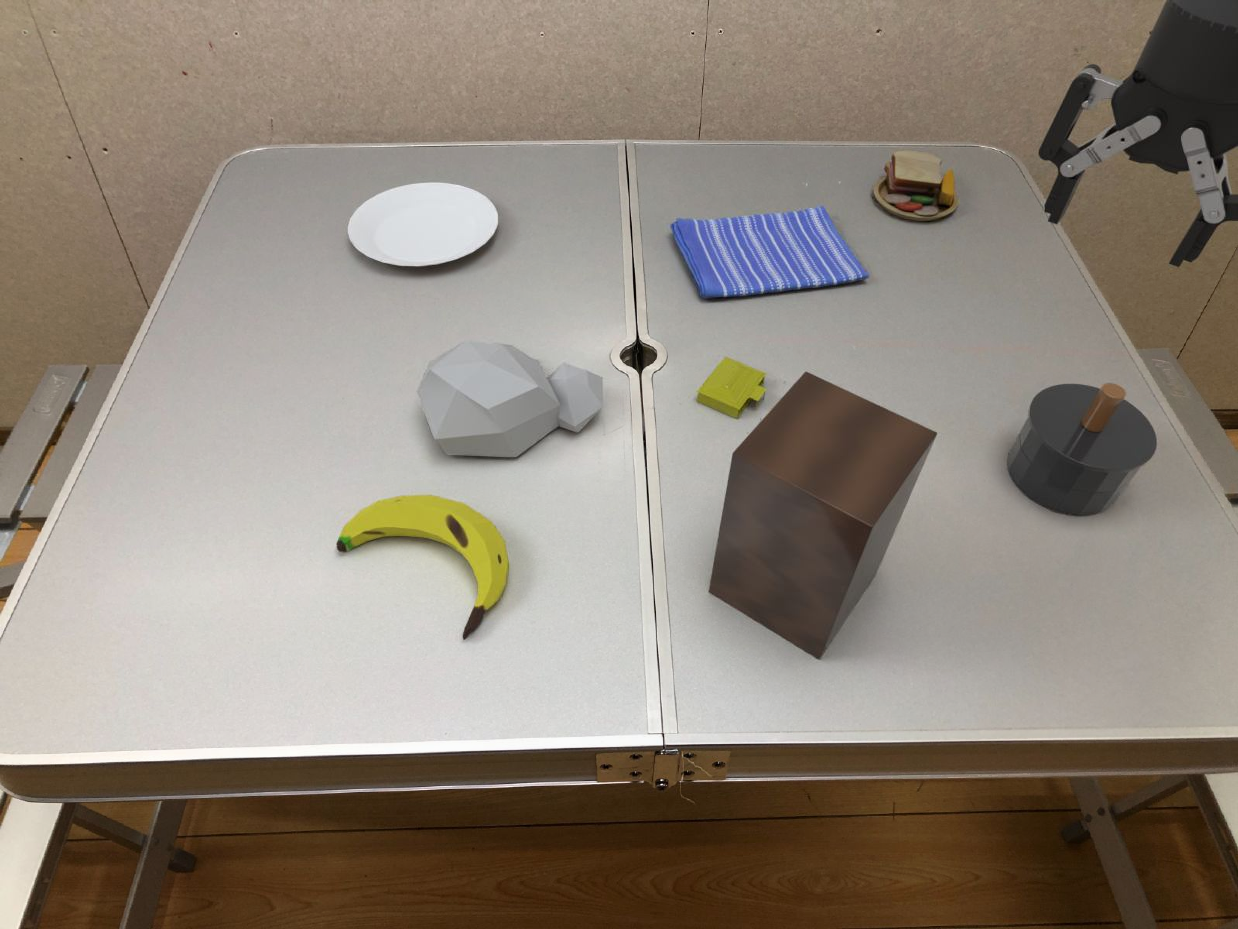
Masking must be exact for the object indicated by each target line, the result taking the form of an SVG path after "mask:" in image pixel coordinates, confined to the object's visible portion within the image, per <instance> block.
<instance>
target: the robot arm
mask: <svg viewBox="0 0 1238 929" xmlns="http://www.w3.org/2000/svg"><path fill="white" fill-rule="evenodd" d="M1103 100H1110V106H1111V110H1112V114H1113V119H1114V122H1115V123H1112V124H1111V125H1109V126H1108V127H1106V128H1104V129H1103V130H1102V131H1101V132H1099V133H1098V134H1097V135H1095V136H1094V137H1091V138H1090V139H1089V140H1087V141H1085V142H1083V143H1082V144H1080V145H1076V144H1075V143H1073V142H1072V141H1071V140H1069V138H1070V136H1071V135H1072V132H1073V130H1074V128H1075V126H1076V125H1077V122H1078V121H1079V119H1080V117H1081V115H1082V113H1083V111H1084V110H1085V111H1088V110H1089V111H1090V110H1093V109H1094V108H1096V107H1097V106H1098V104H1099V103H1100V102H1102V101H1103ZM1236 148H1238V0H1165V3H1164V4H1163V7H1162V9H1161V11H1160V13H1159V15H1158V17H1157V19H1156V21H1155V24H1154V25H1153V27H1152V30H1151V32H1150V34H1149V36H1148V39H1147V40H1146V43H1145V45H1144V47H1143V49H1142V51H1141V54H1140V56H1139V58H1138V59H1137V62H1136V64H1135V66H1134V68H1133V70H1132V72H1131V74H1130V75H1128V76H1127V77H1126V78H1125V79H1123V80H1120V79H1118V78H1115V77H1112V76H1109V75H1105V74H1103V73H1102V68H1101V67H1100V66H1099V65H1098V64H1094V63H1090V64H1088V65H1086V66H1084V67H1083V69H1082V70H1081V71H1080V72H1079V73H1078V75H1077V76H1075V78H1073V80H1072V82H1071V83H1070V85H1069V87H1068V90H1067V91H1066V93H1065V96H1064V98H1063V99H1062V102H1061V104H1060V105H1059V108H1058V110H1057V112H1056V114H1055V116H1054V118H1053V120H1052V122H1051V124H1050V126H1049V128H1048V130H1047V132H1046V134H1045V137H1044V138H1043V141H1042V143H1041V144H1040V147H1039V149H1038V152H1037V154H1038V157H1039V158H1040V159H1041V160H1043V161H1046V162H1047V161H1050V163H1052V164H1053V165H1054V166H1055V167H1056V168H1057V176H1056V178H1055V179H1054V183H1053V184H1052V187H1051V189H1050V191H1049V194H1048V196H1047V198H1046V201H1045V203H1044V204H1043V205H1044V213H1047V214H1049V216H1048V219H1047V222H1048V223H1050V224H1053V225H1058V224H1059V223H1060V221H1061V220H1062V219H1063V217H1064V216H1065V215H1066V212H1067V211H1068V208H1069V206H1070V204H1071V202H1072V200H1073V197H1074V195H1075V193H1076V191H1077V189H1078V187H1079V185H1080V183H1081V180H1082V178H1083V176H1084V175H1085V172H1086V170H1087V169H1089V168H1091V167H1092V166H1095V165H1096V164H1100V163H1102V162H1105V161H1107V160H1108V159H1110V158H1111V157H1113V156H1115V155H1117V154H1119V153H1121V152H1124V153H1125V155H1127V156H1128V157H1129V158H1128V160H1129V161H1131V162H1135V163H1138V164H1143V165H1144V164H1147V165H1154V166H1157V167H1158V168H1160V169H1161V170H1163V171H1164V172H1167V173H1170V174H1174V175H1178V174H1179V172H1181V173H1183V172H1189V173H1190V179H1191V181H1192V186H1193V190H1194V193H1195V194H1196V195H1197V196H1198V201H1199V204H1200V209H1199V211H1198V213H1197V214H1196V216H1195V218H1194V219H1193V221H1192V222H1191V224H1190V226H1189V228H1188V230H1187V231H1186V232H1185V234H1184V236H1183V237H1182V239H1181V241H1180V243H1179V244H1178V246H1177V248H1176V249H1175V251H1174V252H1173V255H1172V256H1171V259H1170V260H1169V262H1168V264H1169V265H1171V266H1174V267H1177V268H1180V267H1181V265H1182V263H1183V262H1184V261H1185V262H1189V263H1193V262H1194V261H1195V260H1197V259H1198V258H1199V257H1200V255H1201V254H1202V251H1203V250H1204V248H1205V247H1206V245H1207V244H1208V242H1209V241H1210V239H1211V238H1212V236H1213V234H1214V233H1215V231H1216V230H1217V228H1218V227H1219V226H1220V225H1221V224H1224V223H1226V222H1238V194H1237V193H1235V194H1233V191H1232V187H1231V182H1230V178H1229V164H1228V158H1227V154H1226V153H1228V152H1230V151H1232V150H1234V149H1236Z"/></svg>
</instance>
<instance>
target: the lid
mask: <svg viewBox="0 0 1238 929" xmlns="http://www.w3.org/2000/svg"><path fill="white" fill-rule="evenodd" d="M1126 395H1127V393H1126V390H1125V389H1124V387H1123V386H1121V385H1119V384H1118V383H1112V382H1107V383H1104V384H1103V385H1101V387H1100V388H1099V387H1096V386H1092V385H1088V384H1083V383H1061V384H1059V383H1058V384H1055V385H1051V386H1049V387H1048V386H1047V387H1046V388H1044V389H1041V390H1040V391H1039V392H1038V393H1036V394H1035V396H1034V397H1033V399H1032V400H1031V402H1030V404H1029V406H1028V409H1027V418H1029V423H1030V426H1031V428H1032V430H1033V432H1034V433H1035V435H1036V436H1037V438H1038V439H1039V440H1040V441H1041V442H1042V443H1043V444H1044V445H1045V446H1046V447H1047V448H1048V449H1049V450H1051V451H1052V452H1053V453H1055V454H1056V455H1058V456H1059V457H1061V458H1062V459H1064V460H1066V461H1068V462H1070V463H1072V464H1075V465H1077V466H1080V467H1083V468H1085V469H1089V470H1093V471H1098V472H1105V473H1123V472H1129V471H1133V470H1136V469H1138V468H1140V469H1141V468H1142V467H1144V466H1145V465H1147V464H1148V463H1149V462H1150V461H1151V459H1153V456H1154V455H1155V453H1156V452H1157V445H1158V439H1157V434H1156V432H1155V429H1154V426H1153V425H1152V423H1151V422H1150V421H1149V419H1148V418H1147V417H1146V415H1144V413H1143V412H1142V411H1141V410H1139V409H1138V408H1137V407H1136V406H1135V405H1134V404H1132V403H1130V402H1129V401H1128V400H1126V399H1125V397H1126Z"/></svg>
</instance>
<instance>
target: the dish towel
mask: <svg viewBox="0 0 1238 929" xmlns="http://www.w3.org/2000/svg"><path fill="white" fill-rule="evenodd" d="M670 229H671V232H672V235H673V237H674V239H675V243H676V245H677V246H678V248H679V250H680V252H681V254H682V257H683V259H684V262H685V263H686V265H687V268H688V270H689V272H690V274H691V277H692V280H693V281H694V283H695V286H696V289H697V291H698V294H699V296H700V297H701V298H703V299H705V300H706V299H713V298H727V297H730V298H731V297H746V296H753V295H754V296H755V295H763V294H767V293H779V292H786V291H792V290H793V291H795V290H802V289H815V288H816V289H817V288H820V287H828V286H837V285H841V284H850V283H854V282H857V281H862V280H866V279H869V278H870V275H869V273H868V272H867V271H866V269H864V267H863V265H862V264H861V262H860V261H859V260H858V258H857V257H856V255H855V254H854V253H853V252H852V250H851V248H850V247H849V245H848V244H847V242H846V241H845V239H844V238H843V237H842V235H841V234H840V233H839V231H838V229H837V227H836V226H835V224H834V222H833V220H832V219H831V217H830V215H829V213H828V212H827V209H826V207H825V206H824V205H819V206H814V207H807V208H804V209H801V210H797V211H796V210H793V211H788V212H773V213H765V214H751V215H739V216H734V217H728V216H726V217H721V218H707V219H696V218H680V217H677V218H676V219H675V221H673V222H671V223H670Z"/></svg>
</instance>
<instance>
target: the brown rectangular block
mask: <svg viewBox="0 0 1238 929" xmlns="http://www.w3.org/2000/svg"><path fill="white" fill-rule="evenodd" d="M937 436H938V432H936V431H935V430H933V429H930V428H928V427H926V426H924V425H921V423H918V422H916V421H913V420H911V419H909V418H907V417H905V416H902V415H901V414H899V413H897V412H893V411H892V410H889V409H887V408H885V407H883V406H881V405H879V404H878V403H875V402H873V401H870V400H868V399H866V398H864V397H862V396H860V395H857V394H856V393H853V392H851V391H849V390H847V389H844V388H842V387H841V386H838V385H836V384H834V383H832V382H830V381H828V380H825V379H823V378H821V377H819V376H817V375H815V374H813V373H810V372H808V371H804V372H803V374H802V375H801V376H800V377H799V378H798V379H797V380H796V381H795V382H794V384H793V385H792V386H790V388H789V389H788V391H786V393H784V395H783V396H782V397H781V398H780V399H779V400H778V401H777V403H776V404H775V405H774V406H773V407H772V408H771V409H770V410H769V412H768V413H767V414H766V415H765V416H764V417H763V419H761V420H760V422H759V423H758V424H757V425H756V426H755V427H754V429H753V430H752V431H750V433H748V435H747V436H746V437H745V439H744V440H743V441H742V442H741V443H740V444H739V445H738V446H737V447H736V448H735V449H734V451H733V452H732V453H731V454H732V455H731V459H730V466H729V471H728V477H727V483H726V489H725V494H724V500H723V507H722V512H721V518H720V524H719V530H718V535H717V541H716V546H715V553H714V558H713V564H712V570H711V575H710V580H709V581H710V582H709V588H708V593H709V594H711V595H713V596H714V597H716V598H718V599H719V600H721V601H722V602H724V603H726V604H728V605H729V606H731V607H732V608H734V609H735V610H737V611H739V612H740V613H742V614H744V615H745V616H747V617H748V618H750V619H752V620H753V621H755V622H757V623H758V624H759V625H762V626H763V627H764V628H766V629H768V630H770V631H772V632H773V633H775V634H776V635H778V636H780V637H781V638H783V639H785V640H786V641H788V642H789V643H790V644H792V645H794V646H796V647H797V648H799V649H800V650H802V651H804V652H806V653H807V654H809V655H810V656H812V657H814V659H815V658H816V659H817V660H821V659H822V657H823V656H824V654H825V653H826V652H827V650H828V649H829V647H830V645H831V643H832V642H833V640H834V639H835V638H836V636H837V635H838V633H839V632H840V629H841V628H842V627H843V625H844V624H845V622H846V621H847V619H848V617H849V616H850V615H851V613H852V611H853V610H854V608H855V607H856V605H858V604H857V603H858V602H859V601H860V600H861V598H862V596H863V595H864V593H865V592H866V590H867V588H868V587H869V585H870V584H871V582H872V581H873V580H874V578H875V576H876V574H877V572H878V571H879V569H880V566H881V564H882V561H883V560H884V557H885V555H886V553H887V550H888V548H889V545H890V543H891V542H892V539H893V537H894V534H895V532H896V530H897V527H898V525H899V523H900V520H901V519H902V516H903V513H904V511H905V509H906V507H907V504H908V503H909V500H910V497H911V495H912V493H913V491H914V488H915V487H916V484H917V482H918V479H919V477H920V475H921V472H922V470H923V468H924V465H925V463H926V461H927V459H928V456H929V454H930V451H931V449H932V447H933V445H934V442H935V440H936V438H937Z"/></svg>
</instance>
